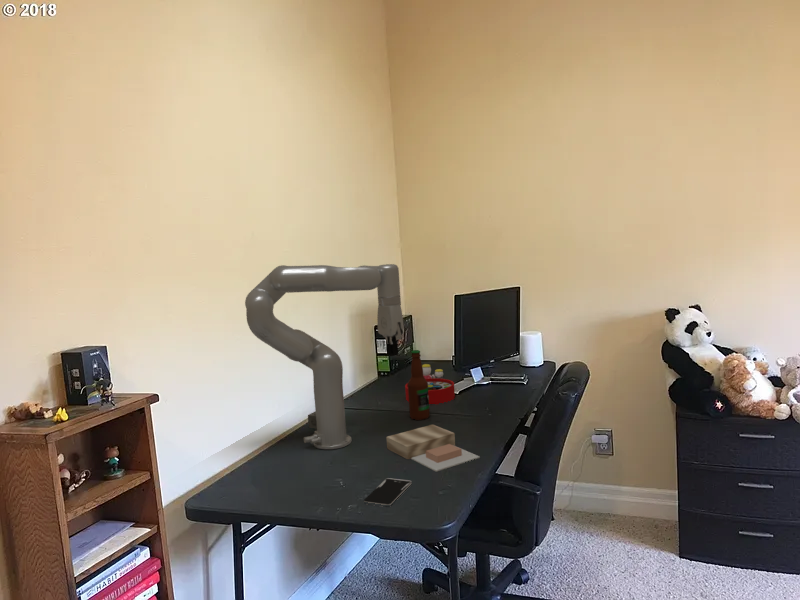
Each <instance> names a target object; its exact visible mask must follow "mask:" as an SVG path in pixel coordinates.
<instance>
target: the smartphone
mask: <svg viewBox="0 0 800 600" xmlns="http://www.w3.org/2000/svg"><path fill="white" fill-rule="evenodd" d="M411 484H412V480H408V479H399V478H391V477H390V478H389V477H387V478H385V479H384V480H383V481H382V482H381V483H380V484H379V485H378V486H377V487H376V488H375V489H374V490H372V491H371V492H370V493H369V495H367V496H366V497H365V498H364V499H363V503H364V502H368V503H375V504H381V505H391V504H392V503H393V502H394V501H395V500H396V499H397V498H398V497H399V496H400V495H401V494H402V493H403V492H404V491H405V490H406V489H407V488H408V487H409V486H410V485H411ZM411 486H412V485H411ZM411 486H410V487H411ZM410 487H409V488H410ZM409 488H408V489H409ZM408 489H407V490H408ZM407 490H406V491H407ZM406 491H405V492H406ZM405 492H404V493H405ZM404 493H403V494H404ZM403 494H402V495H403ZM402 495H401V496H402ZM401 496H400V497H401ZM400 497H399V498H400ZM399 498H398V499H399ZM398 499H397V500H398Z"/></svg>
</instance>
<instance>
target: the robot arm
mask: <svg viewBox="0 0 800 600" xmlns="http://www.w3.org/2000/svg"><path fill="white" fill-rule="evenodd" d="M400 284H401V283H400V269H399V267H398V265H397V264H395V263H391V264H390V263H389V264H387V263H386V264H380V265H365V264H364V265H360V266H357V267H356V266H355V267H354V266H352V267H351V266H350V267H347V266H345V267H344V266H343V267H341V266H333V265H327V264H326V265H324V264H318V265H316V264H315V265H282V264H281V265H278V266H276V267H275V268H274V269H272V270H271V271H270V272H269V273H268V274H267V275H266V276H265V277H264V278H263V279H262V280H261V281H260V282H259V283H258V284H257V285H256V286H255V287H254V288H253V289H251V291H250V292H248V294H247V295H246V297H245V301H244V306H245V308H246V314H245V315H246V323H247V326H248V328H249V330H250V332H251V333H252V334H253V336H255V337H256V338H257V339H258V340H260V341H261V342H263V343H264V344H266V345H268V346H270V347H271V348H272V349H274V350H275V351H277V352H278V353H281V354H282V355H284V356H285V357H287V358H288V359H289V360H291V361H294V362H298V363H300V364H302V365H303V366H305V367H307V368H309V369H310V370H312V376H313V379H312V381H313V397H314V407H315V411H316V422H317V429H316V430H315V431H314V432H313V434H311V435H310V436H309V435H308V436H304V437H303V442H304V444H308V443H310V444H313V447H314V448H317V449H319V450H336V449H341V448H344V447H347V446H349V445H350V444H351V443H352V442H353V441H352V437H351V436H350V435H349V434H347V424H346V412H345V411H346V410H345V400H344V386H343V377H344V376H343V370H344V369H343V368H344V367H343V363H342V359H341V357H340V356H339V354H338V353H337V352H336V351H335V350H334V349H332V348H331V347H329V346H328V345H327V344H324V343H323V342H321V341H320V340H318V339H316V338H315V337H313V336H311V335H309V334H308V333H307V332H305V331H303V330H301V329H295V328H293V327H291V326H289V325H288V324H286V323H285V322H283V321H281V320H279V319H278V318H277V317H276V316H275V314H274V308H275V307H274V306H275V304H276V303H277V302H278V301H280V300H281V298H283V296H284V295H285V294H286V293H288V294H289V293H311V292H312V293H313V292H314V293H315V292H316V293H317V292H321V293H322V292H326V293H327V292H330V293H331V292H345V291H346V292H349V291H355V292H356V291H357V292H358V291H372V290H374V289H377V301H378V302H377V303H378V306H377V307H378V308H377V319H376V320H377V333H378V334H379V335H382V337H383V338H384V339H385V343H386V347H387V348H386V350H387V356H389V357H394V356H398V355H399V346H398V344H399V340H402V338H403V337H402V336H403V335H404V332H405V331H404V330H405V329H404V328H405V327H404V326H405V325H404V317H403V310H402V307H401V304H402V301H401V298H402V297H401V285H400Z"/></svg>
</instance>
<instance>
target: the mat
mask: <svg viewBox="0 0 800 600" xmlns="http://www.w3.org/2000/svg"><path fill="white" fill-rule="evenodd" d="M453 446H454V445H453ZM457 447H458V446H457ZM458 448H460V449H462V455H461V456H458V457H455V458H452V459H449V460H445V461H442V462H439V463H437V462H435V461H433V460H431V459H428V458H426V454H422V455H419V456H416V457H412V458H411V460H412V461H414V462H416V463H418V464H420V465H422V466H424V467H425V468H427V469H430V470H431V471H434V472H436V473H437V472H440V471H443V470H446V469H449V468H452V467H455V466H456V467H457V466H459V465H463V464H465V462H466V463H468V461H469V462H472V461H475V460H477V459H480V458H481V457H480V455H477V454H474V453H473V452H470V451H467V450H466V449H463V448H461V447H458ZM474 459H475V460H474ZM471 460H472V461H471Z"/></svg>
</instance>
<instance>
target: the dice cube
mask: <svg viewBox="0 0 800 600" xmlns="http://www.w3.org/2000/svg"><path fill="white" fill-rule="evenodd" d="M307 423H308V429H309V428H315V429H314V430H317V422H316V410H315V411H313V412H311V413H309V414H307Z"/></svg>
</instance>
